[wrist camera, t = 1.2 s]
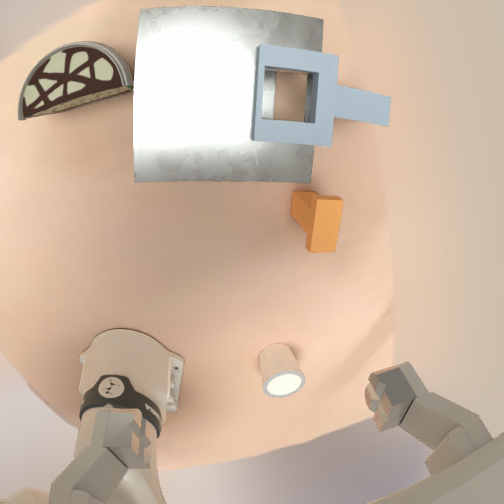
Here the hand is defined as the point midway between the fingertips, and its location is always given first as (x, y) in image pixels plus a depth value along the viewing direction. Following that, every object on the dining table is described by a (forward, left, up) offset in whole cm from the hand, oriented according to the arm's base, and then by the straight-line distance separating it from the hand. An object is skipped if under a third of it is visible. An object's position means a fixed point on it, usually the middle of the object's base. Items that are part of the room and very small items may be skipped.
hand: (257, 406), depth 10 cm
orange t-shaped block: (-3, -11, -31) cm, 33 cm away
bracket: (+10, -9, -22) cm, 26 cm away
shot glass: (-30, -10, -31) cm, 44 cm away
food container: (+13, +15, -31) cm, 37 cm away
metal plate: (+10, 0, -31) cm, 33 cm away
